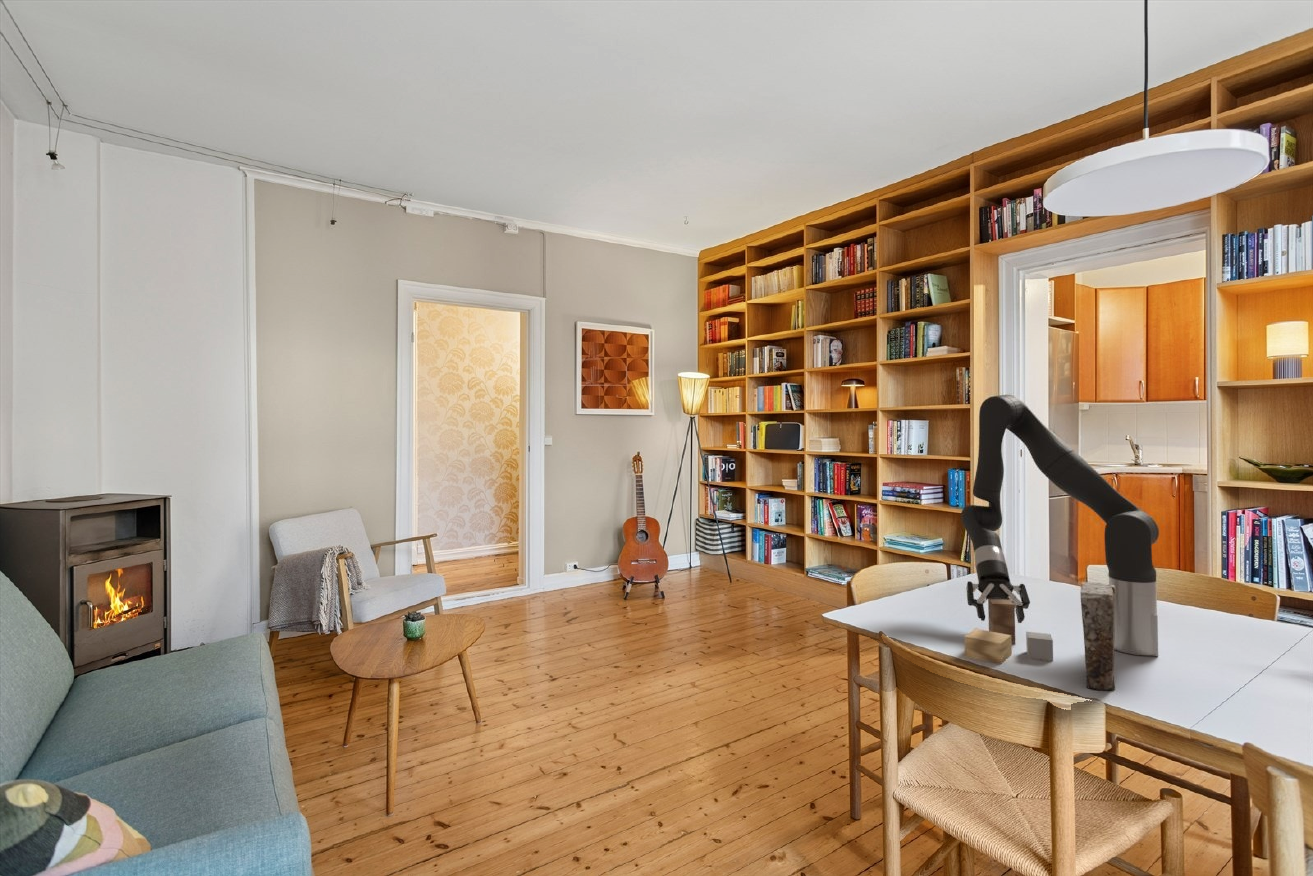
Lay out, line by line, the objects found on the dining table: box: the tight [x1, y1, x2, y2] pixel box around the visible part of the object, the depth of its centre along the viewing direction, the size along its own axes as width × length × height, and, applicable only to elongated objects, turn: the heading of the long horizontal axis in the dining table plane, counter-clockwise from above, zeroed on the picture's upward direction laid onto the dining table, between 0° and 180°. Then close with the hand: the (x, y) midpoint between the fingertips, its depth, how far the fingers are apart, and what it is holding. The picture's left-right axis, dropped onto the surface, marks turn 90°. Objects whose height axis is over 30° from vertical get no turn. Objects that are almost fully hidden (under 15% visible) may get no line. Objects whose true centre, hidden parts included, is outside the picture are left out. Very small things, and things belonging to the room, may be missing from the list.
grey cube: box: [1025, 631, 1054, 662], centre depth 150 cm, size 5×5×5 cm
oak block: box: [963, 628, 1013, 665], centre depth 151 cm, size 8×8×5 cm
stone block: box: [1080, 581, 1116, 691], centre depth 135 cm, size 13×7×20 cm, turn 149°
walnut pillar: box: [987, 599, 1016, 645], centre depth 162 cm, size 5×5×10 cm
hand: (1001, 620), depth 161 cm, fingers open, 8 cm apart
